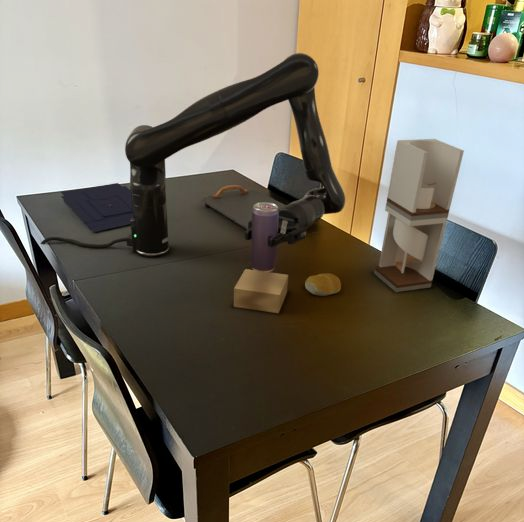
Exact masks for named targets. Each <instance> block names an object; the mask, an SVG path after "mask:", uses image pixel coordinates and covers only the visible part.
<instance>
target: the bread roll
mask: <svg viewBox="0 0 524 522" xmlns="http://www.w3.org/2000/svg"><path fill="white" fill-rule="evenodd" d="M304 287H305V290H306V291H308V292H309V293H311V294H312V295H314V296H318V297H319V296H320V297H325V296H326V297H327V296H330V295H335V294H337V293H339V292H340V291H341V289H342V282H341V280H340V279H339V277H338V276H336V275H335V274H333V273H329V272H326V273H319V274H317V275H315V274H314V275H310V276H308V278H306V280H305V283H304Z"/></svg>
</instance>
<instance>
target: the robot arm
mask: <svg viewBox="0 0 524 522" xmlns="http://www.w3.org/2000/svg"><path fill="white" fill-rule="evenodd" d="M319 75H320V73H319V67H318V64H317V62H316V60H315V59H313V57H312V56H310V55H308V54H306V53H302V52H295V53H293V54H291V55H288V56H287V57H286V58H285V59H284V60H282V61H281V62H279V63H278V64H276V65H275V66H273V67H271V68H269V69H268V70H266V71H264V72H262V73H261V74H260V75H259V74H258V75H257V76H255V77H252V78H249V79H246V80H243V81H239V82H236V83H232V84H230V85H227V86H225V87H222V88H220V89H217V90H216V91H213V92H211V93H209V94H207V95H205V96H203V97H201V98H200V99H198V100H196V101H195V102H193V103H192V104H191V105H189V106H188V107H186V108H185V109H184V110H182V111H181V112H179V113H178V114H177V115H176V116H174V117H173V118H171V119H169V120H167V121H166V122H163V123H161V124H160V123H159V124H158V125H155V126H152V125H148V124H141V125H138V126H136V127H134V128H132V130H131V131H130V133H129V134H128V136H127V139H126V141H125V144H124V145H125V146H124V152H125V157H126V159H127V161H128V162H129V170H130V171H129V172H130V174H129V189H130V190H131V200H132V211H133V218H132V219H131V221H130V223H131V224H130V234H129V235H128V236H127V237H121V238H117V239H114V240H111V241H110V242H108V243H102V244H95V243H94V244H93V243H87V242H82V241H78V240H76V239H72V238H66V237H59V236H49V237H46V238H45V239H43V240H42V241H41V242H40V245H45V244H47V243H48V242H53V241H58V242H64V243H71V244H74V245H77V246H80V247H83V248H84V247H85V248H92V249H104V248H110V247H112V246H113V245H115V244H117V243H123V242H126V247H132V252H133V253H135V254H137V255H139V256H142V257H145V258H156V257H162V256H166V255H168V253H169V251H170V244H169V227H168V226H169V224H168V209H167V206H168V205H167V189H166V188H167V187H166V180H167V179H166V177H167V176H166V159H168V158H170V157H171V156H173V155H176V153H178V152H180V151H182V150H184V149H187V148H188V147H191V146H193V145H196V144H199V143H201V142H204V141H207V140H209V139H211V138H213V137H216V136H219V135H221V134H223V133H225V132H227V131H229V130H232V129H234V128H236V127H237V126H240V125H241V124H243V123H244V122H247V121H248V120H250V119H252V118H254V117H255V116H256V115H259V114H260V113H261V112H263V111H265V110H266V109H269V108H271V107H272V106H275V105H277V104H280V103H284V102H286V101H288V103H289V106H290V109H291V112H292V115H293V120H294V123H295V128H296V133H297V138H298V144H299V148H300V154H301V159H302V164H303V168H304V172H305V175H306V178H307V180H309V181H311V182H317V183H320V184H321V186H322V187H316V188H313V189H310V190H308V191H307V192H306V193H305V194H304V196H303V197H302V198H300V199H298V200H294V201H292V202H290V203H288V204H285V205H286V206H284V207H283V208H281V209H279V210H278V211H279V219H278V233H277V234H276V235H274V236H272V237H270V240H269V246H270V247H274V246H277V247H278V245H281V244H285V243H287V244H288V245H293V244H296V243H298V242H300V241H302V240H304V239H306V236H307V230H308V229H309V228H310V227H311V226H312V225H314V224H316V223H317V222H318V221H320V220H322V217H323V216H324V215H330V214H331V215H332V214H338V213H340V212H342V211H343V209H344V208H345V206H346V195H345V191H344V189H343V187H342V185H341V184H340V181H339V179H338V177H337V175H336V173H335V171H334V169H333V166H332V160H331V156H330V151H329V145H328V143H327V139H326V135H325V133H324V129H323V126H322V123H321V120H320V119H321V118H320V116H319V112H318V108H317V101H316V89H315V86H316V85H317V83H318V80H319ZM244 238H245V240H246V241H251V238H252V220H250V221H249V222H248V230H247V229H246V230H245V231H244Z"/></svg>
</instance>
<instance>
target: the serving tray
mask: <svg viewBox="0 0 524 522" xmlns="http://www.w3.org/2000/svg"><path fill="white" fill-rule="evenodd" d="M230 190H231V191H230ZM232 190H233V191H232ZM201 202H202V203H204V206H205V208H207V209H208V208H209V209H210V208H212V209H213V210H215V211H217V212H218V213H220V214H222V215H223V216H224V217H226V218H228V219H230V220H231V221H233V222H235V223H236V224H237V225H238V226H241V227H243V228H244V229H246V230H248V222H249V221H250V220H252V210H253V206H254V205H255V204H256V203H261V202H268V203H273V204H276V205H277V206H278V210H279V209H281V208H283V207H284V206H286V205H287V204H285V203H282V202H281V201H278V200H275V199H274V198H273V197H270V196H269V195H267V194H264V193H263V192H261V191H258V190H248V189H244V188H243V187H242V186H241V185H239V184H231V185H225V186H223V187H221V188H220V189H218V191H216V193H215V194H211V195H209V196H206V197H203V198H202V199H201Z"/></svg>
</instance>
